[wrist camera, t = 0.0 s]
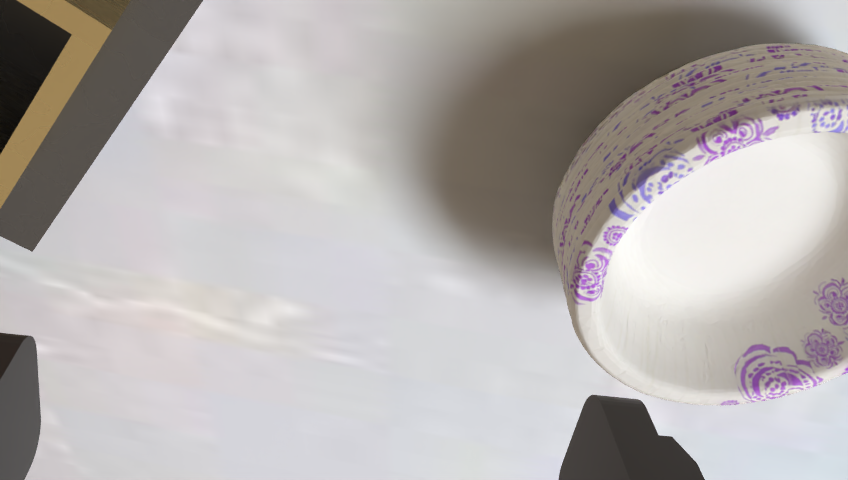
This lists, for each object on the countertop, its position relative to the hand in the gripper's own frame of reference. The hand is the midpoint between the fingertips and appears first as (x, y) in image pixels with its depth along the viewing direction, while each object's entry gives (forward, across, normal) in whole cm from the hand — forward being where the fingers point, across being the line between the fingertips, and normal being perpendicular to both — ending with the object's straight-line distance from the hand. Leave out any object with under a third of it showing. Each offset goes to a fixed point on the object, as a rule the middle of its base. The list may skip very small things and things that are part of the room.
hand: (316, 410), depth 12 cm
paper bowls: (+24, -17, +4) cm, 29 cm away
